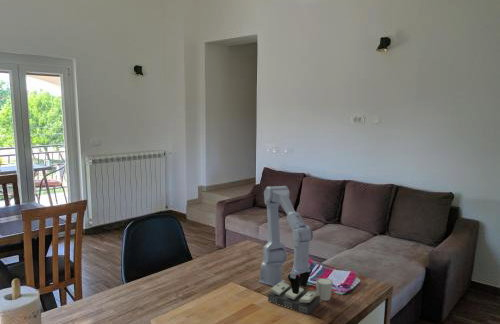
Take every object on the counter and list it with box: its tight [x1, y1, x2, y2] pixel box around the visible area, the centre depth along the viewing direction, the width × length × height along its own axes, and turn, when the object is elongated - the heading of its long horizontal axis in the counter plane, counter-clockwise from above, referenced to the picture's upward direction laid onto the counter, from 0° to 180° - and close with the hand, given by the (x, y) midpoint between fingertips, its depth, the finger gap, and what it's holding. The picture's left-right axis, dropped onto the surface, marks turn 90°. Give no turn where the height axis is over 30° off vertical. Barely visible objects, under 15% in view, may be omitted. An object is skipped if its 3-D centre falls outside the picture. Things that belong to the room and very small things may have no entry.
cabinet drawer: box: [300, 290, 318, 303], centre depth 144 cm, size 4×9×1 cm, turn 148°
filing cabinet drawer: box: [285, 286, 305, 300], centre depth 148 cm, size 4×9×1 cm, turn 147°
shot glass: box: [315, 277, 334, 302], centre depth 153 cm, size 7×7×7 cm
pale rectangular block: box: [270, 281, 291, 295], centre depth 151 cm, size 4×9×1 cm, turn 147°
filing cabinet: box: [267, 286, 321, 316], centre depth 148 cm, size 18×11×4 cm, turn 57°
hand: (299, 289), depth 147 cm, fingers open, 7 cm apart
